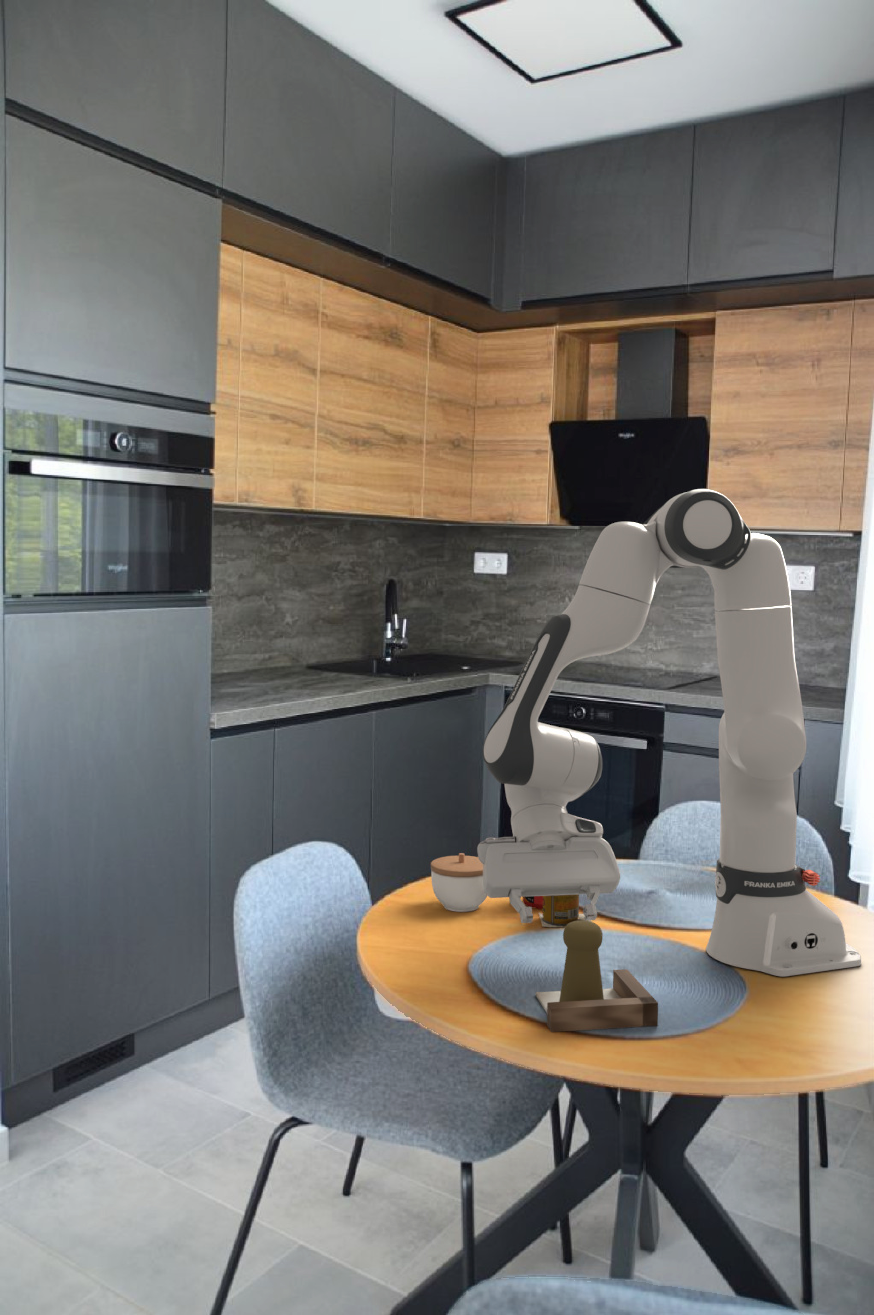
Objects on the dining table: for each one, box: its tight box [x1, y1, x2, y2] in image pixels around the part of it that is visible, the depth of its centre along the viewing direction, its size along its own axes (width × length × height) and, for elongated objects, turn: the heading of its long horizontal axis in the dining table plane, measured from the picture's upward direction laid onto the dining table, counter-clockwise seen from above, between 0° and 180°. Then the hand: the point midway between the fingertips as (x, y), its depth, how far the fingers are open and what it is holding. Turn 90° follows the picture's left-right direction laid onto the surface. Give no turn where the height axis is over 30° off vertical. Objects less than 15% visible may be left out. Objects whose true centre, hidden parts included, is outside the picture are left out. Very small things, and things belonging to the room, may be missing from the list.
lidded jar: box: [430, 852, 488, 913], centre depth 186 cm, size 11×11×9 cm
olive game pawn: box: [559, 921, 604, 1002], centre depth 142 cm, size 6×6×11 cm
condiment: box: [538, 894, 592, 928], centre depth 178 cm, size 7×8×12 cm
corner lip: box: [535, 968, 659, 1033], centre depth 141 cm, size 14×12×3 cm
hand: (559, 920), depth 153 cm, fingers open, 8 cm apart
